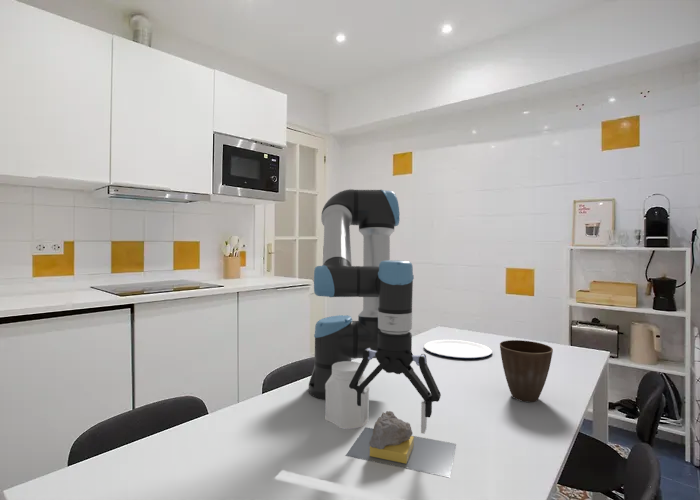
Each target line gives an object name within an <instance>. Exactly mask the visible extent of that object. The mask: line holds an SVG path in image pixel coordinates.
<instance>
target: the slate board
mask: <svg viewBox="0 0 700 500" xmlns="http://www.w3.org/2000/svg"><path fill="white" fill-rule="evenodd" d="M373 429H374V427H367V426H365V427H364V428H363V430H361V432H360V434H359V435H358V437H357V438H356V440H355V441H354V443H353V444H352V445H351V447H350V448H349V450H348V451H347V453H346V454H345V457H348V458H349V457H350V458H355V459H359V460H363V461H364V460H365V461H368V462H369V461H370V462H372V463H374V462H375V463H379V464H382V465H387V466H388V465H389V466H393V467H397V468H402V469H406V470H412V471H416V472H420V473H421V472H422V473H425V474H431V475H434V476H439V477H445V478H449V479H450V478H451V474H452V469H453V463H454V458H455V453H456V448H457V443H455V442H449V441H442V440H438V439H432V438H426V437H421V436H416V435H412V436H413V437H414V446H413V449H412V451H411V454H410V456H409V459H408V461H407V464H405V463H401V462H396V461H391V460H386V459H381V458H377V457H372V456H370V445H369V442H370V440H371V437H372V435H373Z"/></svg>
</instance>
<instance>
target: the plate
mask: <svg viewBox="0 0 700 500" xmlns="http://www.w3.org/2000/svg"><path fill="white" fill-rule="evenodd" d="M423 348H424V349H425V351H427V352H429V353H432V354H433V355H434V354H435V355H438V356H442V357H447V358H453V359H455V358H456V359H465V360H466V359H481V358H485V357H486V358H487V357H489V356H491V355H492V354H493V350H492V349H491V348H490V347H488V346H487V345H484V344H481V343H477V342H473V341H470V340H469V341H468V340H460V339H438V340H437V339H436V340H430V341H428V342H426V343H425V344H424V345H423Z"/></svg>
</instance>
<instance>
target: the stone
mask: <svg viewBox="0 0 700 500" xmlns="http://www.w3.org/2000/svg"><path fill="white" fill-rule="evenodd" d="M412 430H413V429H412V426H411V424H410V423H409V422H407V421H405V420H404V421H403V420H402V419H400V418H398V417H397V416H396V415H395V413H394V412H393V411H391V410H389V411H388V410H387V411H386V412H382V413H381V416H380V417H378V418H377V420H376V422H375V423H374V425H373V435H372V437H371V440H370V442H369V445H370V446H371V447H372V448H374V447H375V448H378V449H384V447H385V446H389V445H393V446H395V445H399V444H401V443H402V442H404V441H406V440H409V439H410V437H411V436H413V431H412Z"/></svg>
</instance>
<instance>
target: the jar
mask: <svg viewBox="0 0 700 500" xmlns="http://www.w3.org/2000/svg"><path fill="white" fill-rule="evenodd" d="M360 363H361V362H357V361H352V360H351V361H342V362H337V363H334V364H333V365H332V375H331V376H330V378H329V379H328V381H327V382H326V384H325V390H326V399H325V401H324V402H325V408H324V409H325V412H324V413H325V416H324V420H325V421H327V422H330V423H333V424H334V425H336V426H337V427H338V428H340V429H345V430H349V429H350V430H351V429H357V428H361V427H364V426H366V425H367V424H368V423H369V421H370V415H369V414H370V413H369V409H370V383H369V384H368V385H367V386H366V387H365V388H364V390H368V413H367V419H366V420H365V422H364V423H362V422H361V406H358V405H357V391H356V390H355V389H351V388H350V387H349V384H350V383H351V381H352V379H353V377H354V375H355V373H356V371H357V369H358V367H359V365H360ZM366 378H367V377H365V375H364V373H363V374H362V376H361V378H360V380H359V382H358V383H360V384H361V383H362V382H363V381H364V380H365V379H366Z"/></svg>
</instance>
